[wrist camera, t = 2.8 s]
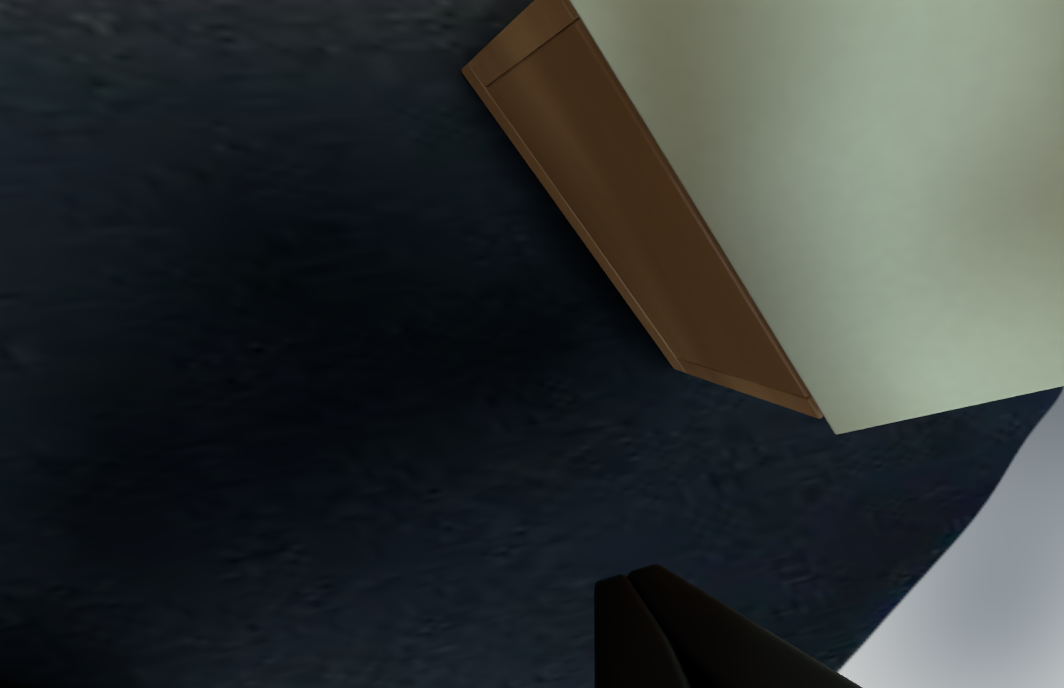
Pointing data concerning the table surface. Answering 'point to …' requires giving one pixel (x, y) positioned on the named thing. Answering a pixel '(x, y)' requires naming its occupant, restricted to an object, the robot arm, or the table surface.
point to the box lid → (870, 182)
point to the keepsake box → (628, 202)
